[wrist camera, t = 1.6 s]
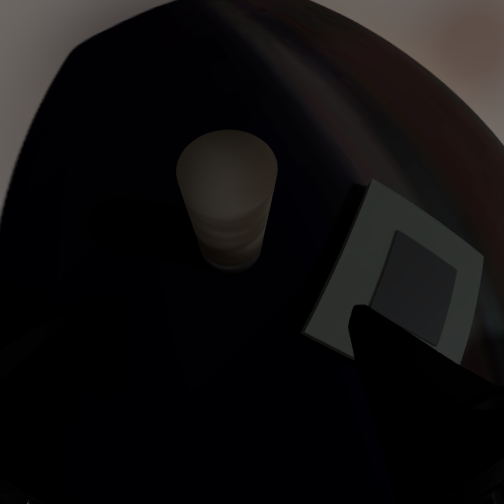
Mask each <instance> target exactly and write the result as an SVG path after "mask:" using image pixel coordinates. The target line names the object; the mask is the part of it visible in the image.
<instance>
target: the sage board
mask: <svg viewBox="0 0 504 504" xmlns="http://www.w3.org/2000/svg"><path fill="white" fill-rule="evenodd" d="M483 258H484V256H482V255H481V254H480V253H479V252H478V251H476V250H475V249H474V248H473V247H471V246H470V245H469V244H468V243H466V242H465V241H464V240H463V239H461V238H460V237H459V236H457V235H456V234H455V233H453V232H452V231H451V230H449V229H448V228H447V227H445V226H444V225H443V224H441V223H440V222H439V221H437V220H436V219H434V218H433V217H431V216H430V215H429V214H427V213H426V212H424V211H423V210H421V209H420V208H418V207H417V206H415V205H414V204H412V203H411V202H409V201H408V200H406V199H405V198H403V197H402V196H400V195H398V194H397V193H395V192H394V191H392V190H390V189H389V188H387V187H386V186H384V185H382V184H381V183H379V182H377V181H376V180H374V179H372V180H371V182H370V183H369V184H368V186H367V188H366V190H365V193H364V195H363V198H362V200H361V203H360V205H359V208H358V210H357V213H356V215H355V218H354V220H353V222H352V225H351V227H350V229H349V232H348V234H347V236H346V239H345V241H344V243H343V246H342V248H341V250H340V252H339V255H338V257H337V259H336V261H335V263H334V266H333V268H332V270H331V272H330V274H329V276H328V278H327V281H326V283H325V285H324V287H323V289H322V291H321V293H320V295H319V297H318V299H317V301H316V303H315V305H314V307H313V309H312V311H311V313H310V315H309V317H308V319H307V321H306V323H305V325H304V327H303V329H302V331H301V332H300V333H301V334H303V335H305V336H307V337H309V338H311V339H312V340H314V341H316V342H318V343H320V344H322V345H324V346H326V347H328V348H330V349H332V350H334V351H336V352H338V353H340V354H342V355H344V356H346V357H348V358H350V359H352V360H354V361H355V358H354V353H353V349H352V344H351V340H350V335H349V331H348V323H349V319H350V316H351V312H352V309H353V307H354V305H358V304H366V305H367V306H369V307H371V308H372V309H374V310H375V311H377V312H378V313H380V314H381V315H383V316H385V317H386V318H388V319H389V320H391V321H392V322H394V323H395V324H397V325H399V326H400V327H402V328H403V329H405V330H406V331H408V332H409V333H411V334H412V335H414V336H415V337H417V338H419V339H420V340H422V341H423V342H425V343H426V344H428V345H429V346H431V347H432V348H434V349H435V350H437V351H438V352H440V353H441V354H443V355H444V356H446V357H447V358H449V359H451V360H452V361H454V362H455V363H457V364H459V365H460V363H461V360H462V357H463V354H464V351H465V347H466V344H467V340H468V337H469V333H470V329H471V325H472V321H473V317H474V312H475V307H476V303H477V297H478V292H479V286H480V280H481V273H482V266H483Z"/></svg>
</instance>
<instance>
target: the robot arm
mask: <svg viewBox="0 0 504 504" xmlns="http://www.w3.org/2000/svg"><path fill="white" fill-rule="evenodd" d="M98 329H99V318H98V315H97V312H96V309H95V306H94V304H93V303H92V302H90V301H81V302H79V303H78V304H76V305H74V306H73V307H71V308H69V309H67V310H66V311H64V312H62V313H61V314H59V315H57V316H56V317H54V318H52V319H51V320H49V321H47V322H46V323H44V324H42V325H41V326H39V327H37V328H36V329H34V330H33V331H31V332H29V333H28V334H26V335H24V336H23V337H21V338H20V339H18V340H16V341H15V342H13V343H12V344H10V345H8V346H7V347H5V348H4V349H2V350H1V351H0V504H27V502H28V498H29V497H31V498H33V499H35V500H36V501H38V502H40V503H42V504H56V497H57V490H58V484H59V478H60V472H61V467H62V462H63V460H62V459H63V456H64V452H65V447H66V443H67V439H68V434H69V430H70V427H71V423H72V419H73V415H74V412H75V408H76V405H77V401H78V398H79V395H80V391H81V388H82V385H83V382H84V379H85V376H86V373H87V370H88V367H89V364H90V360H91V357H92V353H93V348H94V344H95V340H96V337H97V333H98ZM348 331H349V335H350V340H351V344H352V349H353V353H354V358H355V363H356V367H357V370H358V373H359V376H360V379H361V382H362V385H363V388H364V391H365V395H366V398H367V401H368V404H369V407H370V411H371V414H372V417H373V421H374V424H375V427H376V431H377V434H378V438H379V441H380V445H381V449H382V452H383V456H384V460H385V464H386V467H387V472H388V476H389V480H390V484H391V488H392V493H393V497H394V501H395V504H504V387H500V386H497V385H495V384H493V383H491V382H489V381H487V380H485V379H484V378H482V377H480V376H478V375H476V374H475V373H473V372H471V371H469V370H467V369H466V368H464V367H462V366H460V365H459V364H457V363H455V362H454V361H452V360H451V359H449V358H447V357H446V356H444V355H443V354H441V353H440V352H438V351H437V350H435V349H434V348H432V347H431V346H429V345H428V344H426V343H425V342H423V341H422V340H420V339H419V338H417V337H415V336H414V335H412V334H411V333H409V332H408V331H406V330H405V329H403V328H402V327H400V326H399V325H397V324H395V323H394V322H392V321H391V320H389V319H388V318H386V317H385V316H383V315H381V314H380V313H378V312H377V311H375V310H374V309H372V308H371V307H369V306H367V305H366V304H358V305H354V307H353V309H352V312H351V316H350V319H349V323H348Z"/></svg>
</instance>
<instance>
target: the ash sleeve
mask: <svg viewBox="0 0 504 504" xmlns="http://www.w3.org/2000/svg"><path fill="white" fill-rule="evenodd" d="M176 175H177V180H178V183H179V186H180V190H181V193H182V196H183V199H184V202H185V205H186V208H187V211H188V214H189V217H190V220H191V223H192V226H193V228H194V231H195V234H196V237H197V240H198V245H199V248H200V250H201V253H202V256H203V258H204V260H205V261H206V263H207V264H208V265H209V266H210V267H211V268H212V269H214V270H216V271H218V272H220V273H224V274H237V273H241V272H244V271H246V270H248V269H249V268H250V267H252V266H253V265H254V263H255V262H256V261H257V259H258V257H259V255H260V252H261V248H262V243H263V236H264V231H265V227H266V222H267V218H268V213H269V209H270V204H271V200H272V195H273V191H274V186H275V182H276V177H277V161H276V158H275V155H274V154H273V152H272V150H271V149H270V148H269V146H268V145H267V144H266V143H265V142H263V141H262V140H261V139H259V138H258V137H256V136H254V135H252V134H249V133H246V132H242V131H237V130H220V131H214V132H211V133H208V134H205V135H203V136H201V137H199V138H197V139H196V140H194V141H193V142H192V143H190V144H189V145H188V146H187V147H186V148H185V150H184V151H183V152H182V154H181V156H180V158H179V160H178V163H177V168H176Z"/></svg>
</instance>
